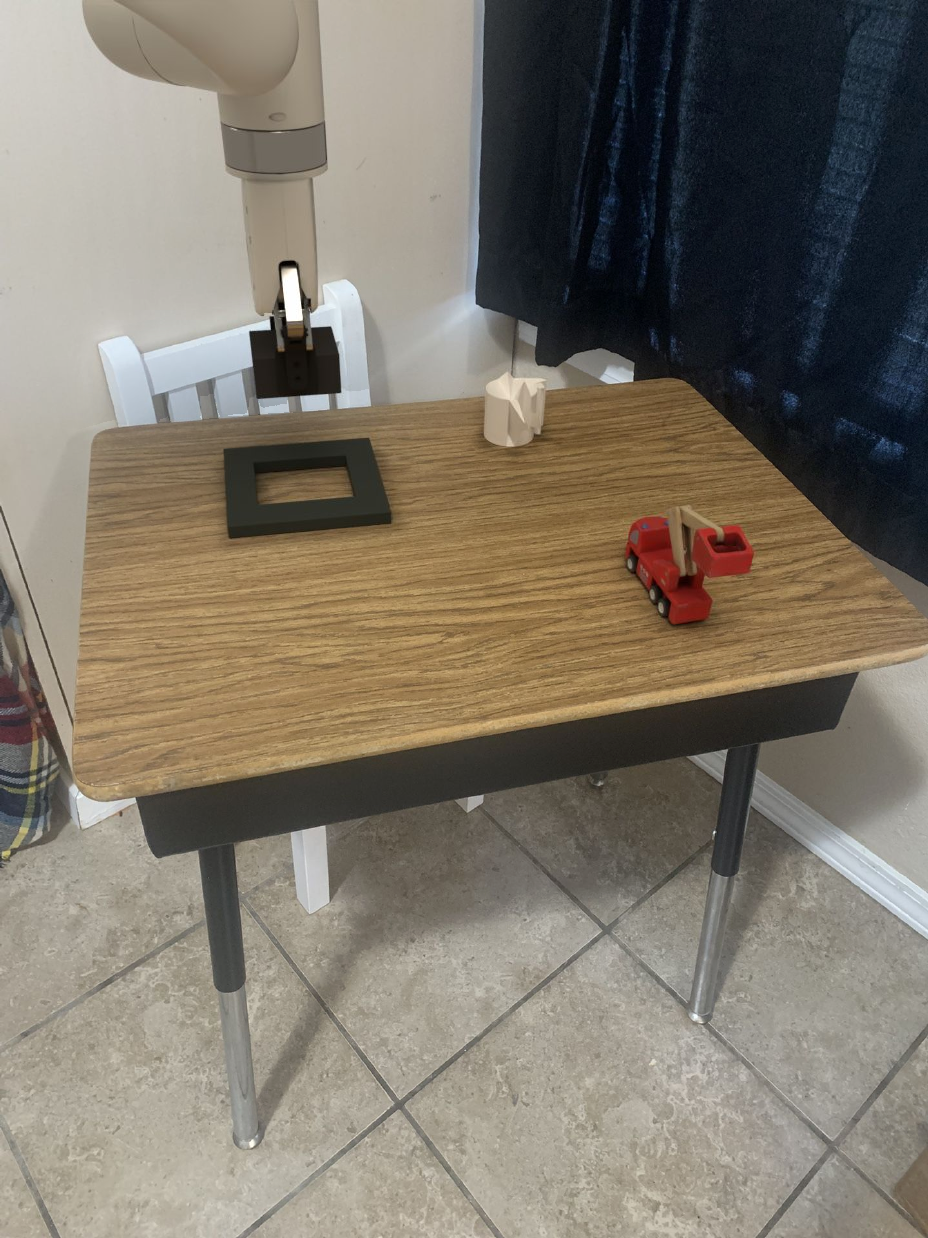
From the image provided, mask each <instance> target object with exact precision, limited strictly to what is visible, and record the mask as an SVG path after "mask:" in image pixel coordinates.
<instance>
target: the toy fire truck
mask: <svg viewBox="0 0 928 1238" xmlns="http://www.w3.org/2000/svg"><path fill="white" fill-rule="evenodd" d="M754 554H755V550H754V548H753V547H752V544H750V541H749V540H748V538H747V536H746V535H745V533H744V531H743V529H742V527H741V526H740V525H738V524H734V525H733V524H732V525H725V526H719V525H717V524H715V523H714V522H712V521H711V520H709V519H707V518H705V517H704V516H702V515H700V513H698V512H696V511H694V510H693V509H692V505H690V504H686V505H681V506H677V505H676V506H673V507H671V508H669V509H667V510H666V517H663V516H644V517H642V518H640V519H637V520H636V521H634V522H633V523H632V524H631V525H630V528H629V531H628V535H627V543H626V545H625V553H624V557H625V560H626V567H627V569H628V571H629V572H630V573H636V575H637V576H638V578H639V579H640V581H641V582H642V583H643V585H644V586H645V588H646V589H647V590H648V596H649V599H650V602H651V603H653V604H657V611H658V614H659V616H660V617H668V620H669V622H670V623H671V624H672V625H679V624H685V623H690V622H691V623H692V622H696V621H700V620H701V621H703V620H707V619H709V617H710V613H711V608H712V604H713V603H714V601H713V598H712V597H711V596H710V595H709V593H708V592H707V591H706V589H705V588H704V587H703V584H704V581H705V577H706V578H708V579H715V578H721V577H729V576H736V575H738V576H739V575H744V574H745V575H747V574H750V572H751V568H752V564H753V559H754V556H755V555H754Z"/></svg>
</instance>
